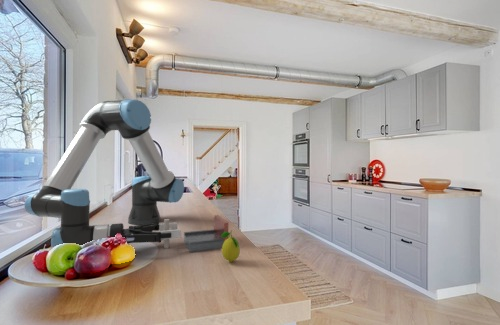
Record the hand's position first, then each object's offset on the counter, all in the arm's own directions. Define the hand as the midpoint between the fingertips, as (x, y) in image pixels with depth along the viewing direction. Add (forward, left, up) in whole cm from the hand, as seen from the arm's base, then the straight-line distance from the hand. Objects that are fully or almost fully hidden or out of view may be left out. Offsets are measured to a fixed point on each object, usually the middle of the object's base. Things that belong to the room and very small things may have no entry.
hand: (179, 229), depth 95 cm
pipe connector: (0, -4, -6) cm, 8 cm away
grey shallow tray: (+1, +9, -6) cm, 11 cm away
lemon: (+21, +13, -6) cm, 25 cm away
